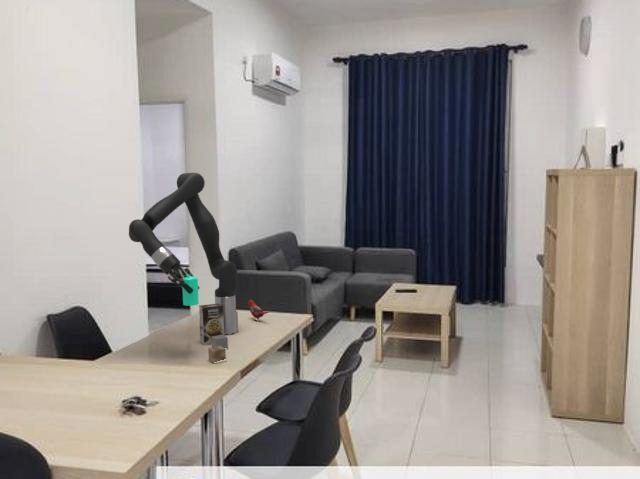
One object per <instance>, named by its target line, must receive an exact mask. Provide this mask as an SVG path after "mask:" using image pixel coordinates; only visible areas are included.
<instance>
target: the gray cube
mask: <svg viewBox="0 0 640 479" xmlns="http://www.w3.org/2000/svg"><path fill="white" fill-rule="evenodd" d="M211 338H212V344H211V347H217V346H222V347H223V348H228V349H229V346H228V345H229V344H228V340H229V339H228V337H227V335H218V336H212V337H211Z"/></svg>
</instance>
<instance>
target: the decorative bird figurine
mask: <svg viewBox="0 0 640 479" xmlns="http://www.w3.org/2000/svg"><path fill="white" fill-rule="evenodd" d="M248 307H249V311H250V313H251V315H252V316H253V317H254V319H258V320H260V318H263V316H265V315H266V314H268V313H269V311H263V309H262V308H260V306H258V305H257V304H256V302H255V301H254V300H253V299H249V300H248Z"/></svg>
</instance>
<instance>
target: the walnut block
mask: <svg viewBox="0 0 640 479" xmlns="http://www.w3.org/2000/svg"><path fill="white" fill-rule="evenodd" d="M207 350H208V352H207V353H208V361H209V360H210V361H211V363H212V362H213V363H214V362H217V361H220V360H224V359H226V355H227V354H226V349H225V348H223V347H222V346H217V347H212V346H211V347H208V348H207ZM226 360H227V359H226ZM210 361H209V362H210ZM213 363H212V364H213Z"/></svg>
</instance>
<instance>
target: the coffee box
mask: <svg viewBox="0 0 640 479" xmlns="http://www.w3.org/2000/svg"><path fill="white" fill-rule="evenodd" d="M198 305H199V304H198ZM198 308H199V309H198V310H199V341H200V343H201V344H202V345H203V346H206V345H207V346H208V345H212V338H211V337H212V336H218V335H224V316H223V305H221V304H219V303H218V304H215V303H211V304H202V305H199V306H198ZM224 336H225V335H224Z"/></svg>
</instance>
